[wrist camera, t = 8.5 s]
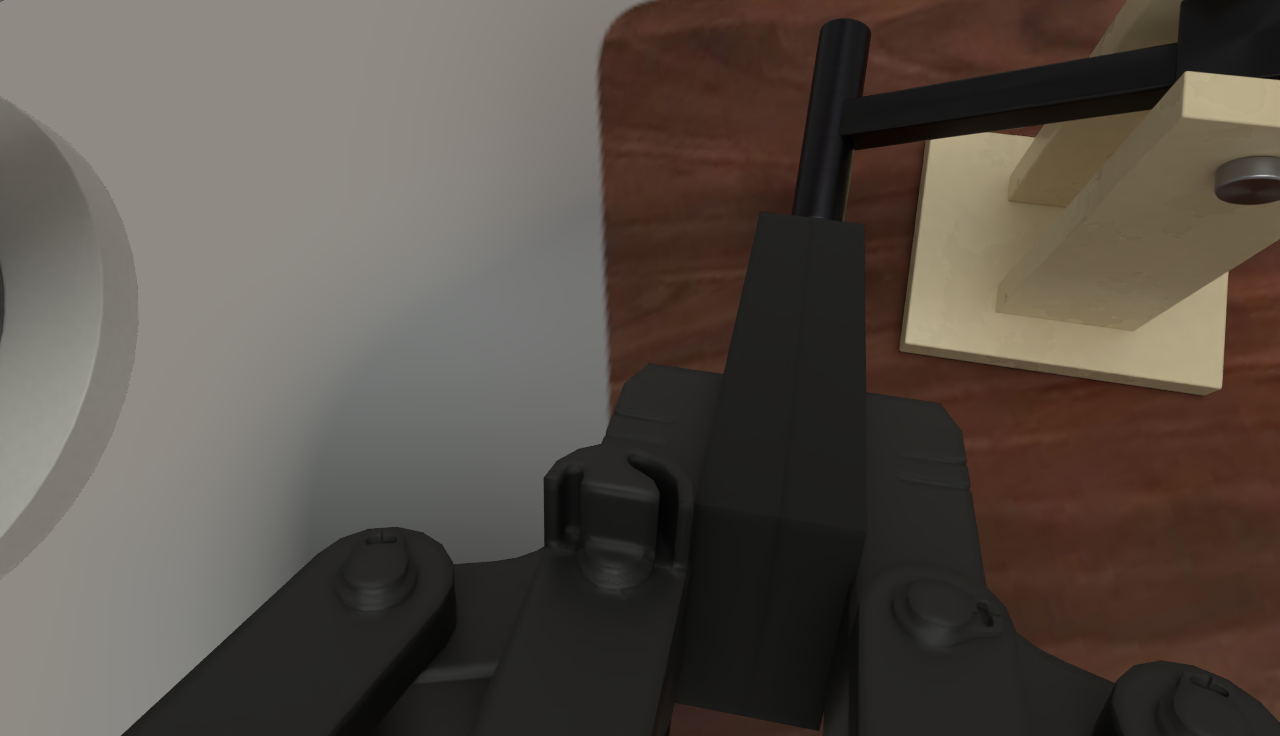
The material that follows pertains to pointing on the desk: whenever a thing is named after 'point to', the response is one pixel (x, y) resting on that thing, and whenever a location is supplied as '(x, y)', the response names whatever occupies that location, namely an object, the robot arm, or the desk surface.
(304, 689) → the robot arm
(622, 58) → the desk surface
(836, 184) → the lever
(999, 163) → the bracket
